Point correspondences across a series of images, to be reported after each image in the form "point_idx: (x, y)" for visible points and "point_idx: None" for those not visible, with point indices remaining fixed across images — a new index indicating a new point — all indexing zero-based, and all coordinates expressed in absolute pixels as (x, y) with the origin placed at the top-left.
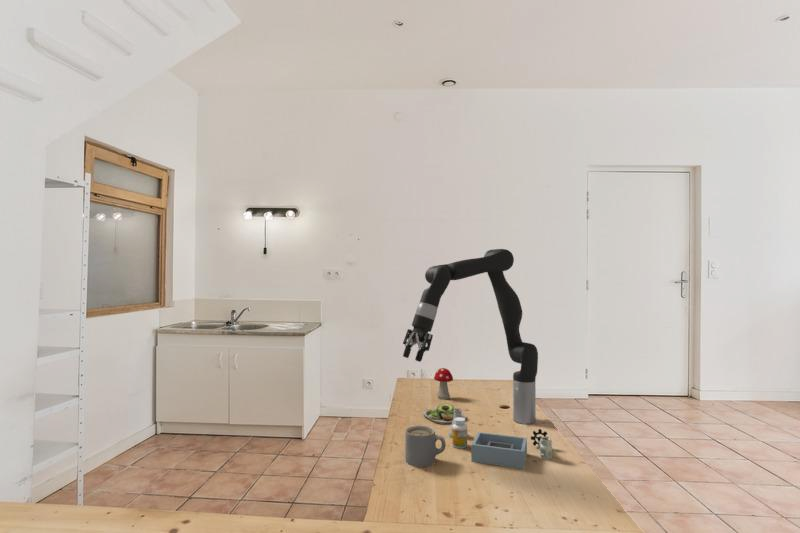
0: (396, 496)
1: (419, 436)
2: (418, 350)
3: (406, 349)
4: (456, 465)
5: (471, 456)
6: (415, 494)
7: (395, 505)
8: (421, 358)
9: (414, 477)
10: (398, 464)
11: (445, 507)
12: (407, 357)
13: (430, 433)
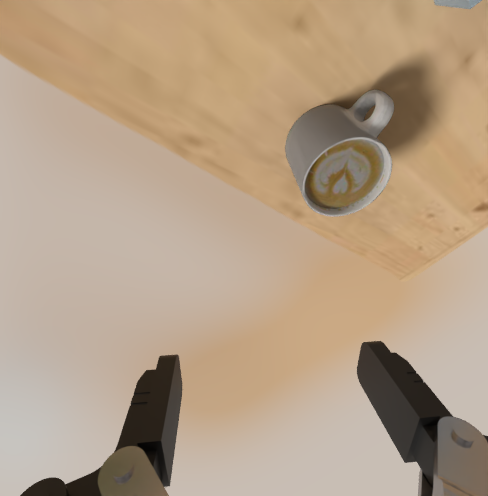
0: (388, 240)
1: (372, 201)
2: (413, 458)
3: (172, 452)
4: (409, 74)
5: (444, 5)
6: (408, 217)
7: (403, 249)
8: (408, 369)
9: None
10: None
11: (472, 200)
12: (177, 360)
13: (364, 149)
